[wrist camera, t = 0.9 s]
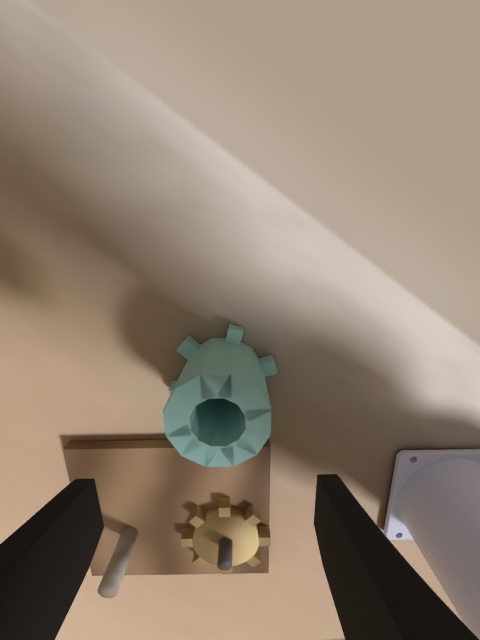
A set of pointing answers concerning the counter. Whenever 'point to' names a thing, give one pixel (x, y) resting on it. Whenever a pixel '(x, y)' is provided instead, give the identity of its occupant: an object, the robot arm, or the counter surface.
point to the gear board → (173, 511)
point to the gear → (220, 401)
